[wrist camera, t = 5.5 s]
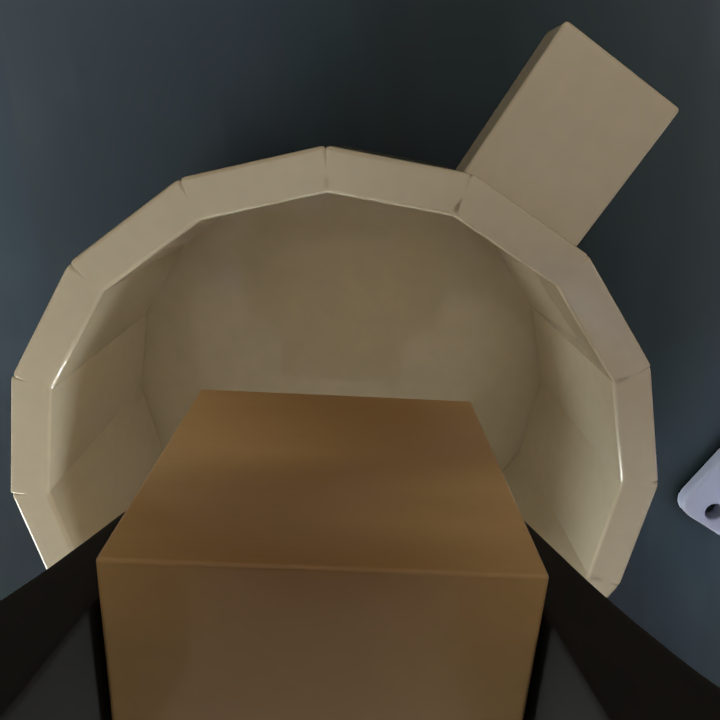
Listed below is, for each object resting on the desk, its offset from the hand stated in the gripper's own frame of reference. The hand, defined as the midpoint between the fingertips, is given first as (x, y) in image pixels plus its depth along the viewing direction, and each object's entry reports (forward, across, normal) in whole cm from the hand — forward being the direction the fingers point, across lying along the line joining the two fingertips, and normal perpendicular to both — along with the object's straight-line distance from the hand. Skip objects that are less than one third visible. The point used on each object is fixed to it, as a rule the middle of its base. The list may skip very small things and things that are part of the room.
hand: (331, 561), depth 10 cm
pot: (+8, 0, 0) cm, 8 cm away
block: (+1, 0, 0) cm, 1 cm away
